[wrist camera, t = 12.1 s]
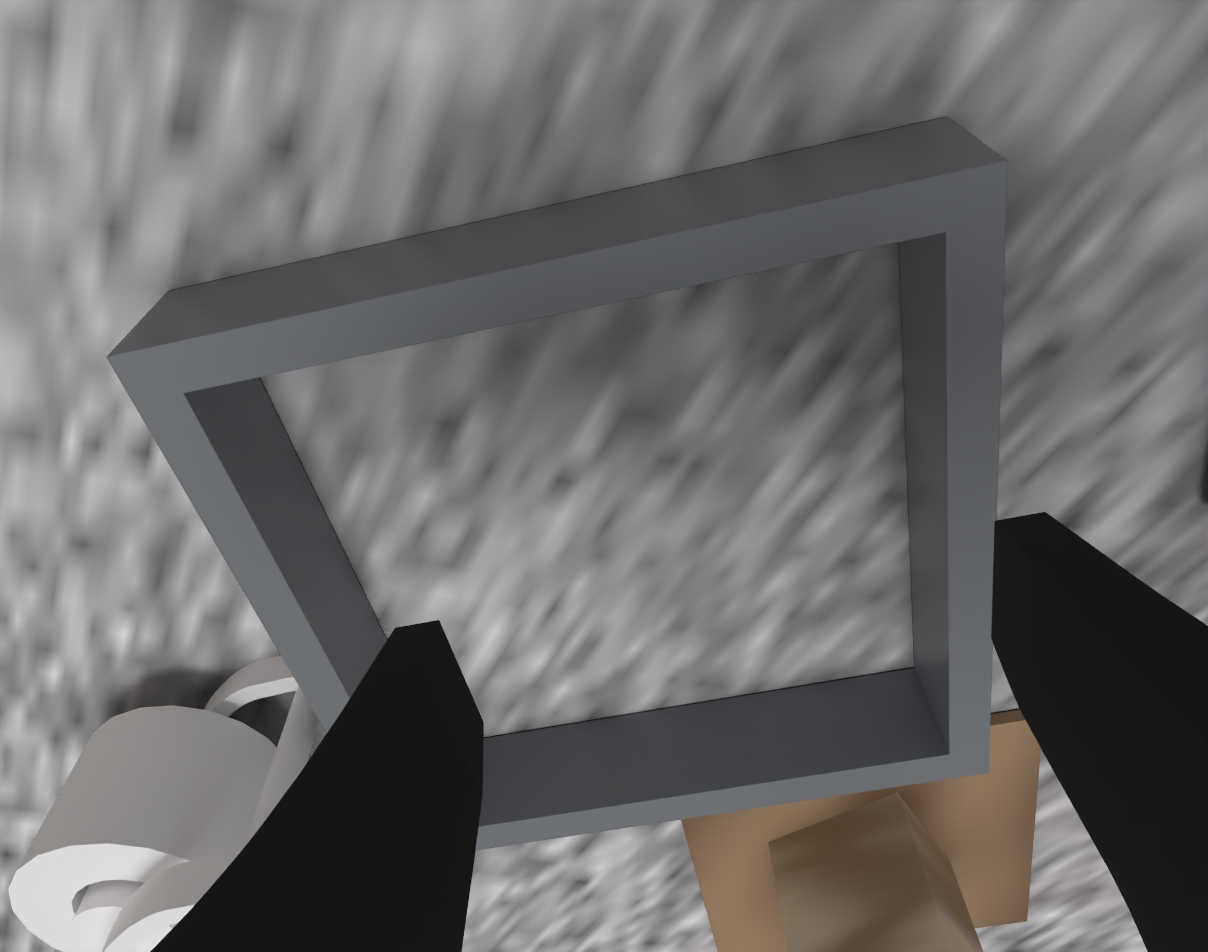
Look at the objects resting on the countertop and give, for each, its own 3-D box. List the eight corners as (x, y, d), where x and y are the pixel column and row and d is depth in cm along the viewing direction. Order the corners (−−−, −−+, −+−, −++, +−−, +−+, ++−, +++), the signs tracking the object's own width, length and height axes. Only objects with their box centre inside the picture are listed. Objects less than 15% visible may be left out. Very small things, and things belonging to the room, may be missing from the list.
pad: (1037, 706, 27) (1043, 717, 27) (1022, 910, 33) (1026, 921, 33) (668, 765, 28) (668, 775, 28) (719, 951, 34) (720, 962, 34)
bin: (947, 116, 18) (1007, 161, 15) (950, 686, 26) (989, 772, 24) (167, 291, 19) (106, 357, 17) (417, 772, 28) (401, 861, 26)
